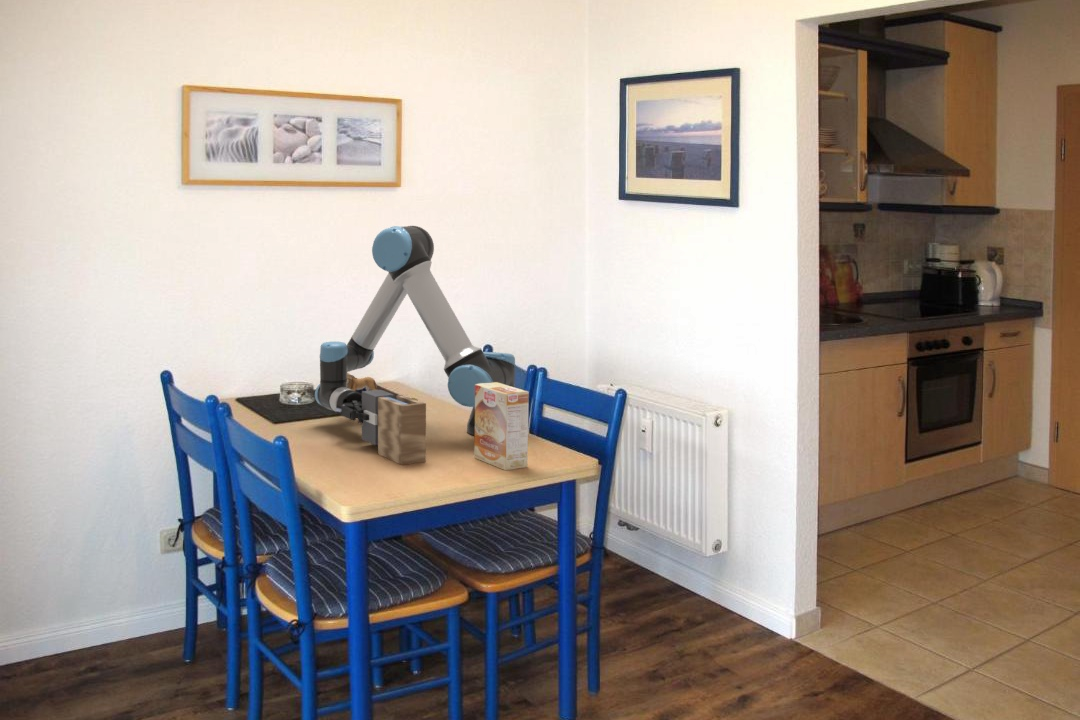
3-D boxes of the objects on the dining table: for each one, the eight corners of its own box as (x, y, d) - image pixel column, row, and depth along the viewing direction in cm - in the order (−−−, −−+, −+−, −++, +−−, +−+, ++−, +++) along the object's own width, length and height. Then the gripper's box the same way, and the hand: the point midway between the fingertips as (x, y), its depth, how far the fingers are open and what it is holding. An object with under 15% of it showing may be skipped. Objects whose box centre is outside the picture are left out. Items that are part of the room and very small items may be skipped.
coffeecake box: (473, 458, 280) (474, 383, 277) (496, 454, 284) (497, 381, 281) (504, 471, 268) (506, 393, 265) (528, 467, 272) (530, 390, 269)
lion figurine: (344, 401, 349) (343, 374, 347) (335, 398, 353) (335, 371, 351) (383, 396, 358) (383, 370, 356) (375, 394, 362) (375, 367, 360)
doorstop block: (361, 439, 290) (361, 391, 288) (380, 436, 294) (380, 389, 291) (375, 445, 284) (375, 396, 282) (394, 442, 287) (394, 394, 285)
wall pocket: (378, 454, 282) (377, 397, 279) (401, 450, 286) (401, 394, 283) (401, 464, 271) (401, 406, 269) (425, 461, 275) (425, 403, 273)
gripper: (378, 412, 308) (418, 428, 289) (317, 419, 297) (354, 436, 279) (378, 386, 307) (418, 401, 288) (317, 392, 296) (354, 408, 277)
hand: (387, 418), depth 283 cm, fingers closed on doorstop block, 5 cm apart
